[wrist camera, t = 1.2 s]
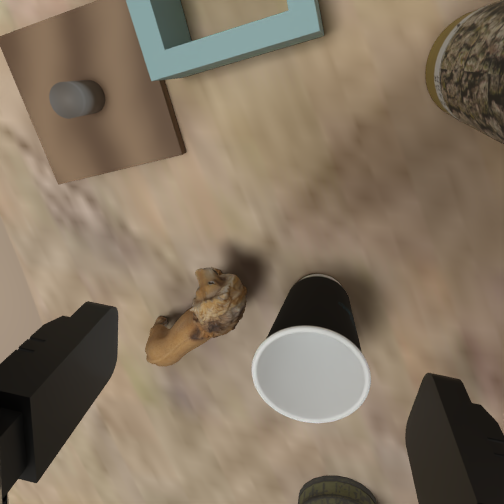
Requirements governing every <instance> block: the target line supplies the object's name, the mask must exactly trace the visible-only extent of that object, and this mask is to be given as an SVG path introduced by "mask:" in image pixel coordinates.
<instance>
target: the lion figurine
mask: <svg viewBox="0 0 504 504" xmlns="http://www.w3.org/2000/svg"><path fill="white" fill-rule="evenodd" d="M195 275H196V277H197V280H198V282H199V287H198V289H197V291H196V298H194V299H193V304H192V305H193V306H192V307H191V308H190V309H189V310H187V311H186V312H185V313H184V314H183V315H182V316H181V317H180V318H179V319H178V320H177V321H176V323H175V324H174V325H173V327H172V328H171V329H168V328H167V327H166V325H167V323H168V321H167V319H166V318H165V317H163V316H159V317H158V318H157V320H156V322H155V324H154V326H153V328H151V330H150V336H149V338H148V341H147V344H146V348H145V352H146V354H147V361H148V362H149V363H151V364H156V365H157V366H169V365H172V364H174V363H176V362H178V361H179V360H180V359H181V358H182V357H183V356H184V355H185V354H187V353H188V352H190V351H191V350H193V349H195V348H196V347H198V346H200V345H202V344H203V343H205V342H206V341H208V340H209V339H210V338H211V337H213V338H215V337H218V336H220V335H224V334H227V333H228V332H229V331H231V330H233V329H235V326H236V325H237V323H238V322H239V320H240V319H242V317H243V313H244V311H245V307H246V298H245V295H246V293H247V289H246V287H245V286H243V285H242V284H241V281H240V280H239V278H238V277H237V275H234V274H229V273H228V274H222V272H221V271H220V270H217V269H214V268H212V267H211V268H204V269H198V270H196V272H195Z"/></svg>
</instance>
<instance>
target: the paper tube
mask: <svg viewBox="0 0 504 504" xmlns="http://www.w3.org/2000/svg"><path fill="white" fill-rule="evenodd" d="M426 84H427V88H428V91H429V94H430V96H431V98H432V99H433V101H434V102H435V103H436V105H437V106H438V107H439V108H440V109H442V110H443V111H444V112H446V113H448V114H450V115H451V116H453V117H455V118H456V119H458V120H460V121H462V122H464V123H465V124H467V125H469V126H471V127H473V128H475V129H477V130H478V131H480V132H482V133H484V134H486V135H488V136H490V137H491V138H493V139H495V140H497V141H499V142H501V143H503V144H504V0H500V1H498V2H495V3H492V4H490V5H487V6H485V7H482V8H480V9H478V10H475V11H473V12H470V13H468V14H465V15H463V16H462V17H460V18H458V19H457V20H455V21H454V22H453V23H451V24H450V25H449V26H448V27H447V28H446V29H445V30H444V31H443V32H442V33H441V34H440V36H439V37H438V38H437V40H436V41H435V43H434V45H433V47H432V49H431V51H430V53H429V56H428V60H427V64H426Z"/></svg>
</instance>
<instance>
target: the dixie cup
mask: <svg viewBox="0 0 504 504" xmlns="http://www.w3.org/2000/svg"><path fill="white" fill-rule="evenodd" d="M252 378H253V382H254V385H255V387H256V389H257V391H258V393H259V394H260V396H261V397H262V399H263V400H264V401H265V402H266V403H267V404H268V405H269V406H270V407H272V408H273V409H274V410H276V411H277V412H279V413H281V414H282V415H284V416H287V417H289V418H292V419H294V420H298V421H302V422H308V423H326V422H332V421H336V420H339V419H342V418H344V417H346V416H348V415H350V414H352V413H353V412H354V411H356V410H357V409H358V408H359V407H360V406H361V405H362V403H363V402H364V401H365V399H366V397H367V395H368V392H369V389H370V384H371V374H370V369H369V366H368V363H367V361H366V359H365V357H364V355H363V354H362V352H361V347H360V343H359V339H358V335H357V331H356V326H355V322H354V318H353V314H352V309H351V305H350V301H349V297H348V295H347V293H346V291H345V290H344V288H343V287H342V286H341V284H340V283H339V282H338V281H337V280H335V279H334V278H332V277H330V276H327V275H324V274H312V275H308V276H305V277H303V278H302V279H301V280H299V281H298V282H297V283H296V284H295V285H294V286H293V287H292V288H291V290H290V291H289V293H288V295H287V297H286V299H285V301H284V304H283V306H282V308H281V310H280V312H279V314H278V316H277V318H276V320H275V322H274V324H273V326H272V328H271V330H270V332H269V334H268V336H267V338H266V340H264V341H263V343H262V344H261V345H260V346H259V348H258V349H257V351H256V353H255V355H254V357H253V361H252Z"/></svg>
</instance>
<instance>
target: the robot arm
mask: <svg viewBox="0 0 504 504" xmlns="http://www.w3.org/2000/svg"><path fill="white" fill-rule="evenodd" d="M117 348H118V310H117V308H116V307H113V306H108V305H103V304H99V303H94V302H89V301H88V302H86V303H84V304H83V305H82V306H81V307H80V308H79V309H78V310H77V311H76V312H75V313H74V314H73V315H72V316H71V317H67V316H61V317H59V318H57V319H55V320H53V321H51V322H48V323H46V324H44V325H43V326H42V327H41V328H40V329H39V330H37V331H36V332H35V333H34V334H33V335H32V336H31V337H30V339H29V340H28V339H27V340H26V341H25V342H24V343H23V344H22V345H21V346H20V347H19V349H18V350H15V351H14V352H13V353H12V354H11V355H10V356H8V357H7V358H6V359H5V360H4V361H3V362H2V363H1V364H0V504H9V499H8V492H9V490H10V489H11V488H12V486H13V485H14V484H15V482H16V481H17V480H18V479H22V480H26V481H30V482H34V483H37V482H38V481H39V479H40V478H41V477H42V475H43V474H44V472H45V471H46V469H47V468H48V467H49V465H50V464H51V462H52V461H53V459H54V458H55V457H56V455H57V454H58V452H59V451H60V449H61V448H62V447H63V445H64V444H65V442H66V441H67V439H68V438H69V437H70V435H71V434H72V432H73V431H74V429H75V428H76V426H77V425H78V424H79V422H80V421H81V419H82V418H83V416H84V415H85V414H86V412H87V411H88V409H89V408H90V406H91V405H92V404H93V402H94V401H95V399H96V398H97V396H98V395H99V394H100V392H101V391H102V389H103V388H104V386H105V385H106V384H107V382H108V381H109V379H110V378H111V376H112V374H113V371H114V368H115V365H116V361H117ZM405 438H406V448H407V452H408V457H409V461H410V466H411V470H412V475H413V480H414V484H415V489H416V493H417V498H418V502H419V504H504V435H503V433H502V431H501V429H500V427H499V425H498V423H497V422H496V421H495V420H494V418H493V417H492V416H491V415H490V414H489V413H488V412H487V411H486V410H485V409H484V408H483V407H482V406H481V405H479V404H474V403H471V400H470V398H469V396H468V394H467V391H466V389H465V387H464V385H463V383H462V381H461V380H460V379H456V378H451V377H446V376H442V375H437V374H432V373H427V374H426V375H425V376H424V378H423V380H422V383H421V385H420V388H419V391H418V394H417V396H416V399H415V402H414V404H413V407H412V410H411V412H410V415H409V418H408V421H407V426H406V437H405Z"/></svg>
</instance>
